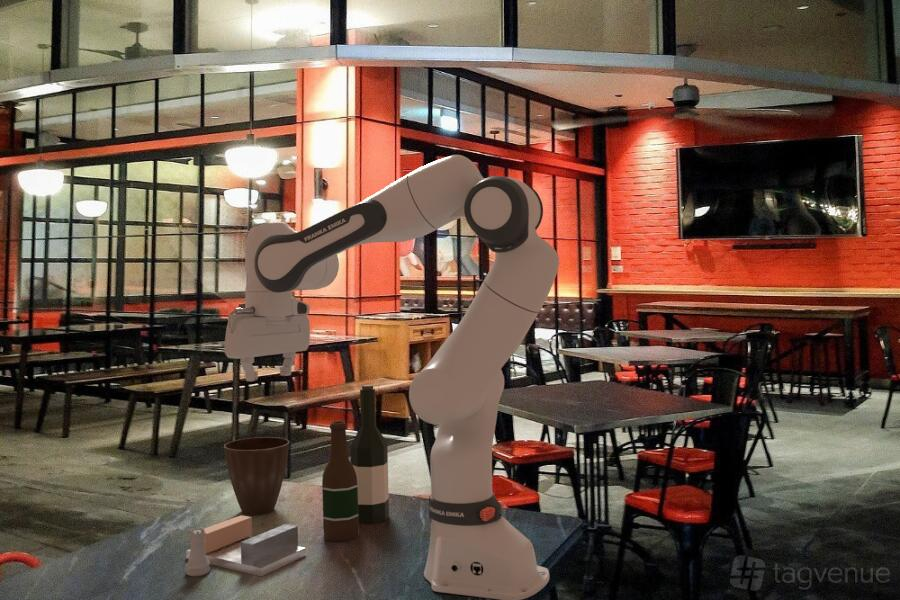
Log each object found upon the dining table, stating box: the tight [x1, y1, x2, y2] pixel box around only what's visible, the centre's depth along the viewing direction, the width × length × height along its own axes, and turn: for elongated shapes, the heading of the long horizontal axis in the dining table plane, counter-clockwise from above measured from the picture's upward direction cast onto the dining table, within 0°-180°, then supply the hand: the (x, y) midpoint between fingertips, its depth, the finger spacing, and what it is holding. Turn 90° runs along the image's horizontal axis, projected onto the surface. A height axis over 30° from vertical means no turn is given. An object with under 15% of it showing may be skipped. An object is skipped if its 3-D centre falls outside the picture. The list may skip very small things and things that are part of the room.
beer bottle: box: [321, 420, 360, 543], centre depth 157 cm, size 8×8×24 cm
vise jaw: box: [204, 514, 253, 554], centre depth 149 cm, size 3×12×4 cm, turn 149°
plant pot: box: [223, 436, 290, 516], centre depth 177 cm, size 15×15×16 cm
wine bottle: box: [349, 384, 390, 525], centre depth 169 cm, size 8×8×30 cm
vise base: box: [185, 523, 307, 577], centre depth 146 cm, size 20×12×6 cm, turn 59°
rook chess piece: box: [185, 527, 211, 577], centre depth 139 cm, size 4×4×8 cm
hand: (269, 378), depth 145 cm, fingers open, 8 cm apart
